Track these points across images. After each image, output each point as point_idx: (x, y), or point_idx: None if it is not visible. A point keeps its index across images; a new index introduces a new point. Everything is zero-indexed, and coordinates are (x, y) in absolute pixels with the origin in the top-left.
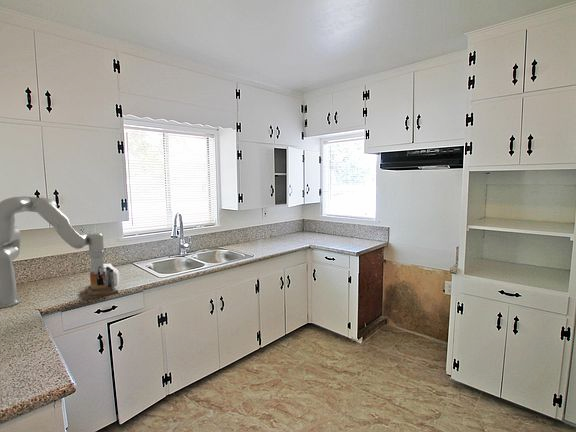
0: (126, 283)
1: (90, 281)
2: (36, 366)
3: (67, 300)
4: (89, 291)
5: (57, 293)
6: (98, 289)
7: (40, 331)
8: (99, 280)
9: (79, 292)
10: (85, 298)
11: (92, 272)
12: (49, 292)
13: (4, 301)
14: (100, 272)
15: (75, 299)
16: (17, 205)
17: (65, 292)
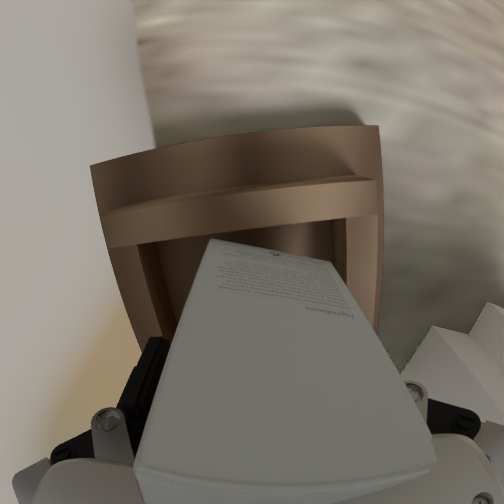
0: None
1: (190, 295)
2: None
3: (210, 19)
4: (113, 219)
5: (462, 16)
6: (143, 311)
7: None
8: (120, 402)
9: (370, 126)
10: (93, 167)
11: (144, 496)
12: (494, 4)
13: None
14: (20, 499)
15: (191, 78)
16: None
17: (462, 56)
